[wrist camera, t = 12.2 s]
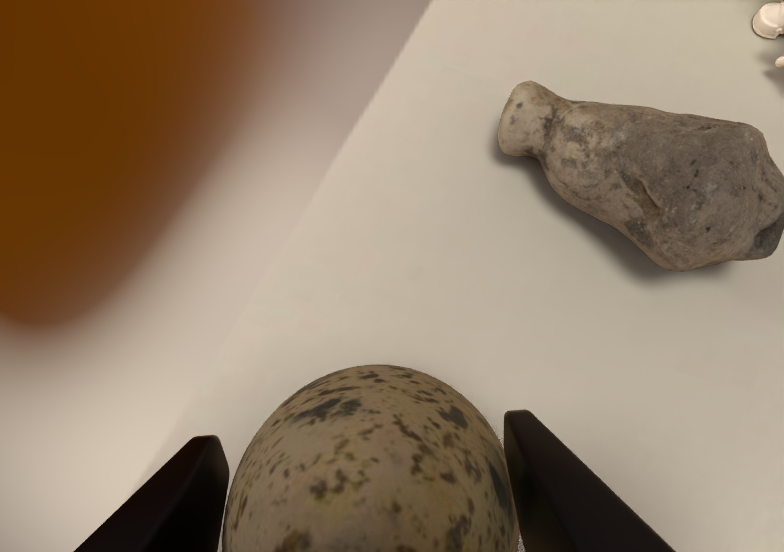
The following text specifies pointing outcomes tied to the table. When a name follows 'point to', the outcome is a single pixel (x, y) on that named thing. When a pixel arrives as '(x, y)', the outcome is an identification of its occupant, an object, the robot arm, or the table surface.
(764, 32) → the figurine
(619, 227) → the stone
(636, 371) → the table surface
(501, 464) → the decorative egg
